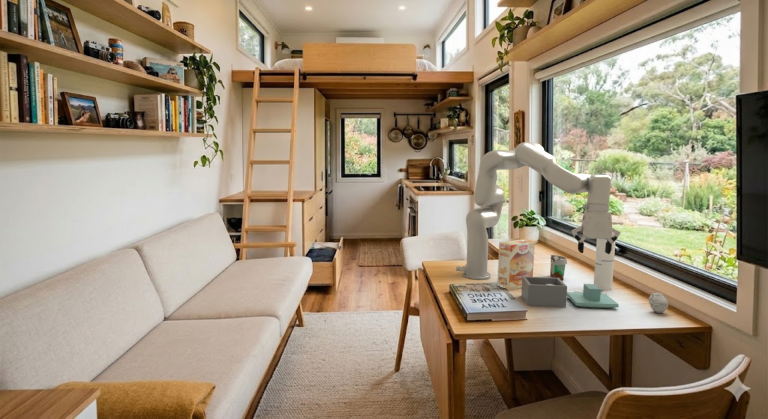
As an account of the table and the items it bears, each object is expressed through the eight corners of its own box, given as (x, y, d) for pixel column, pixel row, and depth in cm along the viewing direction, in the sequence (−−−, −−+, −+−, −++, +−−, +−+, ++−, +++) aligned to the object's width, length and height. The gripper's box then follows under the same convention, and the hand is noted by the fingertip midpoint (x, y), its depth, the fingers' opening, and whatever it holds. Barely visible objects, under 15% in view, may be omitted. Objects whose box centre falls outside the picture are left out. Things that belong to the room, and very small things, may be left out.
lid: (575, 308, 172) (577, 290, 171) (565, 297, 184) (566, 281, 184) (618, 310, 170) (619, 292, 169) (605, 299, 183) (606, 282, 182)
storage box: (527, 305, 174) (528, 284, 173) (521, 295, 186) (522, 276, 185) (566, 307, 172) (567, 286, 171) (557, 297, 184) (558, 277, 183)
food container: (568, 283, 204) (569, 261, 203) (553, 282, 206) (555, 260, 204) (563, 276, 216) (564, 255, 215) (549, 275, 218) (550, 254, 216)
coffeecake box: (509, 290, 192) (511, 244, 190) (496, 286, 198) (498, 241, 196) (533, 285, 200) (535, 241, 198) (520, 281, 206) (522, 238, 204)
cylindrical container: (610, 291, 193) (615, 232, 190) (592, 288, 197) (596, 230, 194) (612, 287, 199) (617, 230, 196) (594, 284, 203) (598, 228, 200)
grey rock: (659, 309, 172) (661, 290, 171) (672, 315, 165) (673, 296, 164) (643, 309, 172) (645, 290, 171) (655, 315, 165) (657, 296, 164)
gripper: (576, 208, 170) (573, 254, 172) (626, 210, 168) (622, 256, 170) (570, 206, 177) (567, 249, 179) (617, 207, 176) (614, 251, 178)
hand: (594, 252), depth 175 cm, fingers open, 9 cm apart
